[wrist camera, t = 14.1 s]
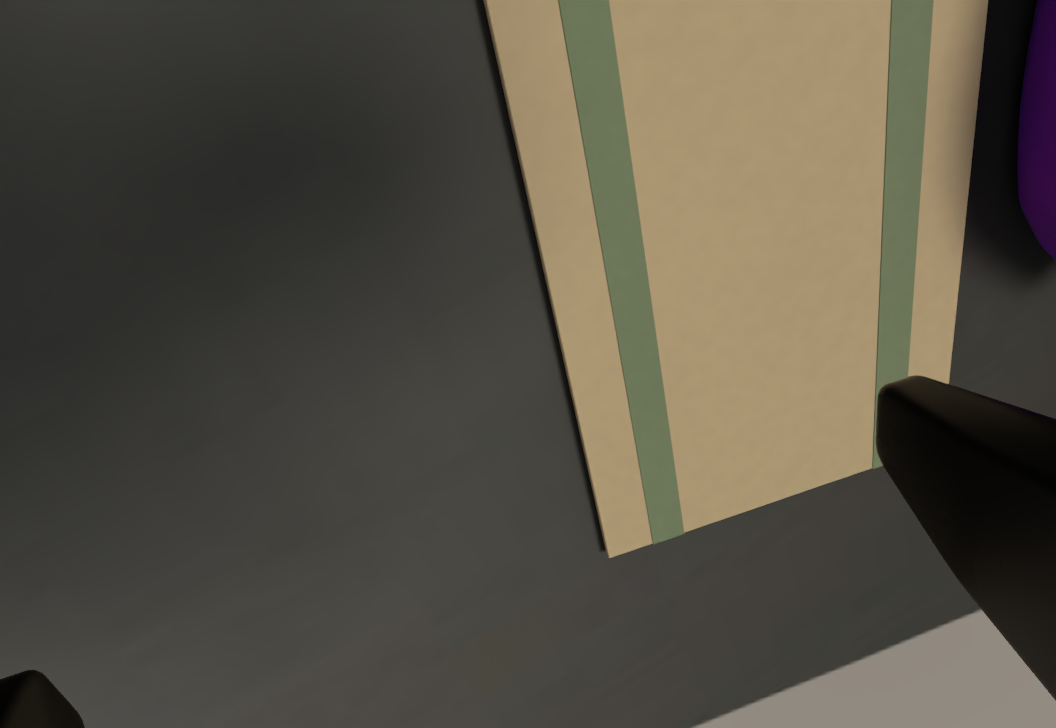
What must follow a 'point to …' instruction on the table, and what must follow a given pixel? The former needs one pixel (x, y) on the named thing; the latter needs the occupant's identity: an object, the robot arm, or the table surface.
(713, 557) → the table surface
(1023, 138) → the purple long tapered piece
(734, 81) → the cloth
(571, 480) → the table surface
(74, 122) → the table surface
